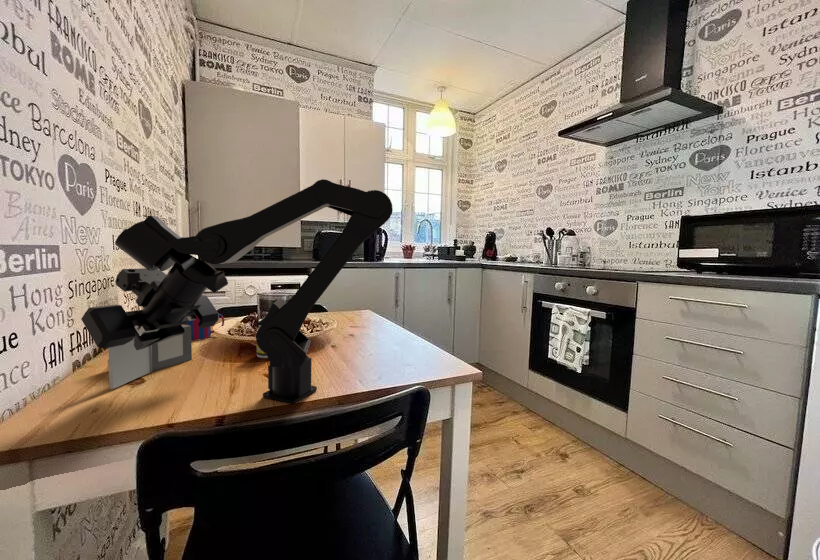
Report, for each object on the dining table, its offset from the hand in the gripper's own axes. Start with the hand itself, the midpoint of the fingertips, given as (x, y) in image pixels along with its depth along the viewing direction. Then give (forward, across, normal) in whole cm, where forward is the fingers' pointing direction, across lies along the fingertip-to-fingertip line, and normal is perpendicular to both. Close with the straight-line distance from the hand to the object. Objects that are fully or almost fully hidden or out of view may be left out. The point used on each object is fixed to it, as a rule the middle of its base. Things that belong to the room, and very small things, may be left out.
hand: (137, 347), depth 59 cm
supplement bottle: (0, -23, +10) cm, 25 cm away
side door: (+7, -1, +2) cm, 7 cm away
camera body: (+11, -9, -2) cm, 15 cm away
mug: (+19, -28, -9) cm, 35 cm away
